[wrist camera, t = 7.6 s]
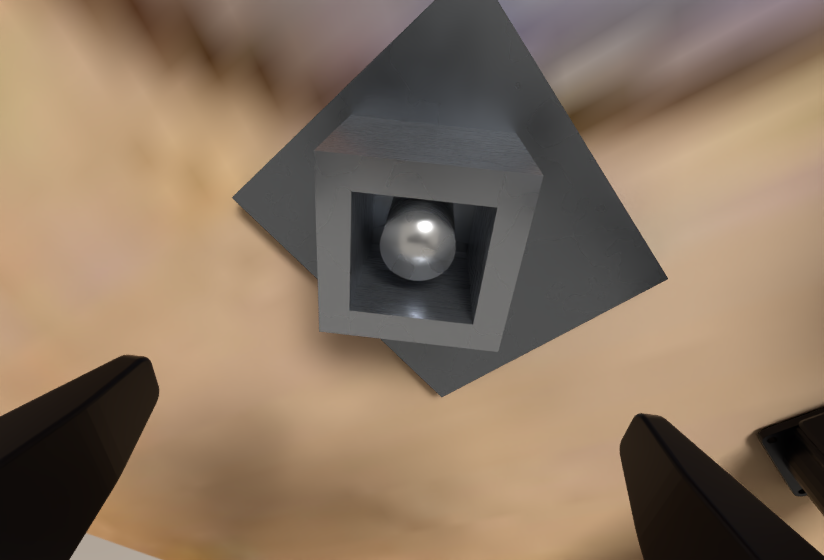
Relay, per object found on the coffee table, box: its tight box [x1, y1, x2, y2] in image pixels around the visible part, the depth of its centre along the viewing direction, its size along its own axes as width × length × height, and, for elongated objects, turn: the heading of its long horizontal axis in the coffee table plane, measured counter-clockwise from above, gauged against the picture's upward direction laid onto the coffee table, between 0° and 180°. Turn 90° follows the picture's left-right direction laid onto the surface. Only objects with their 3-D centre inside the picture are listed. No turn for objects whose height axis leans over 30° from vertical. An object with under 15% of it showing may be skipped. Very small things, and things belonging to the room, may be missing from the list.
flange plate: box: [232, 0, 668, 397], centre depth 16 cm, size 14×12×5 cm
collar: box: [314, 115, 544, 352], centre depth 15 cm, size 6×6×5 cm
